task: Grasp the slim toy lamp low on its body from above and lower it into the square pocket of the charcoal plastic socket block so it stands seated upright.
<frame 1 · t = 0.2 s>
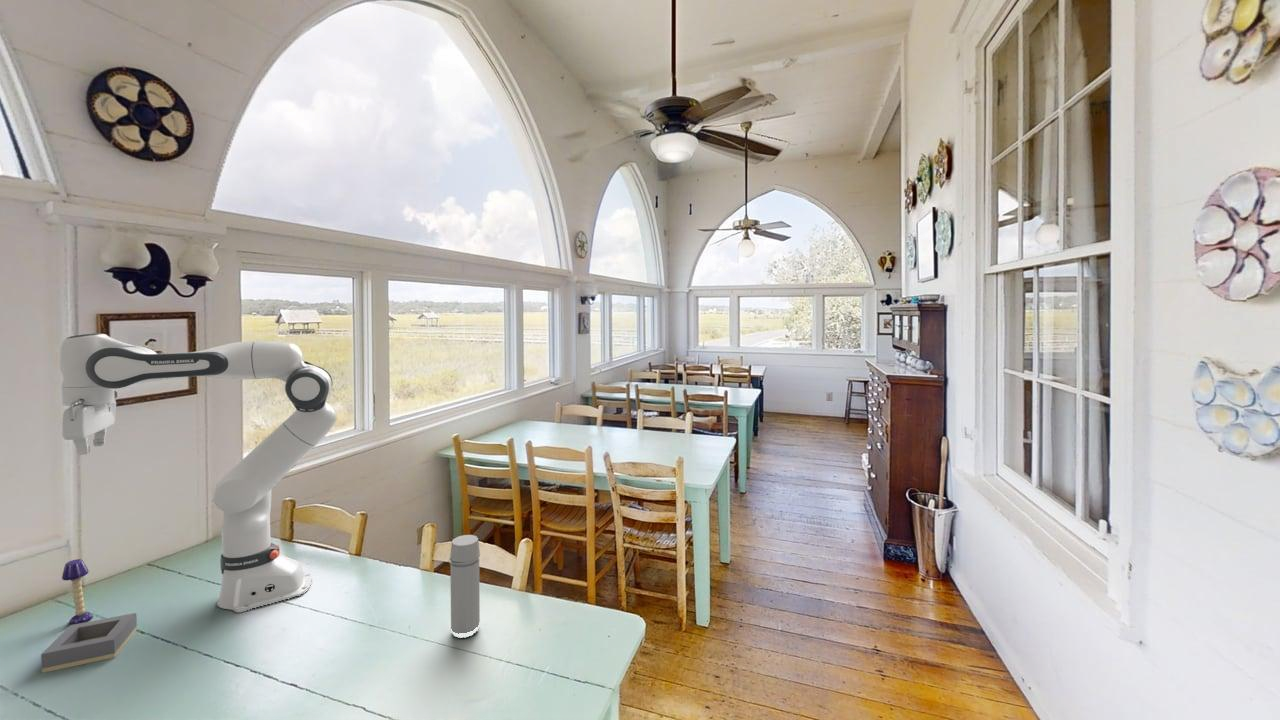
hand: (91, 449, 127), 47 cm above the table, tool pointing down, fingers open, 8 cm apart
toy lamp: (79, 622, 131), on the table
water bottle: (463, 631, 131), on the table
socket block: (93, 649, 120), on the table
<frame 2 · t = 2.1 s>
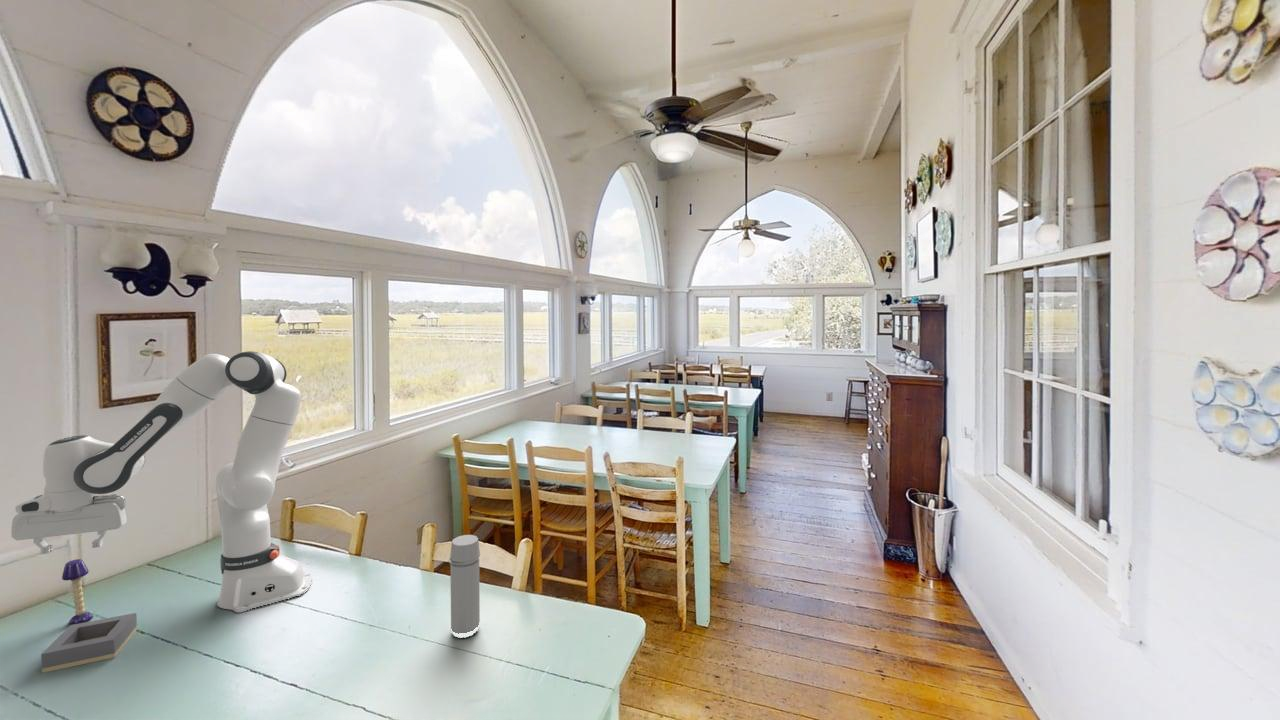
hand: (72, 549, 130), 20 cm above the table, tool pointing down, fingers open, 8 cm apart
nothing on the table moved.
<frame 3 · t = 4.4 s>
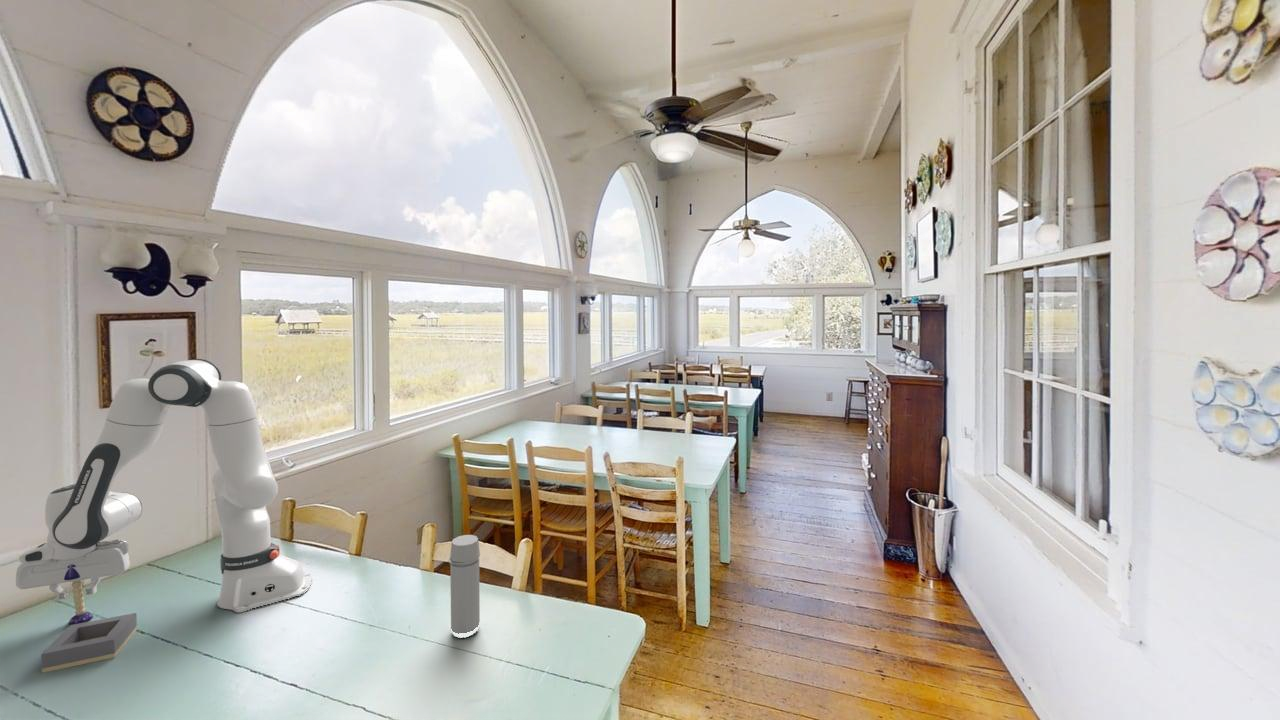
hand: (77, 595, 131), 7 cm above the table, tool pointing down, fingers closed on toy lamp, 4 cm apart
toy lamp: (79, 622, 131), on the table, touching gripper
everything else where it was.
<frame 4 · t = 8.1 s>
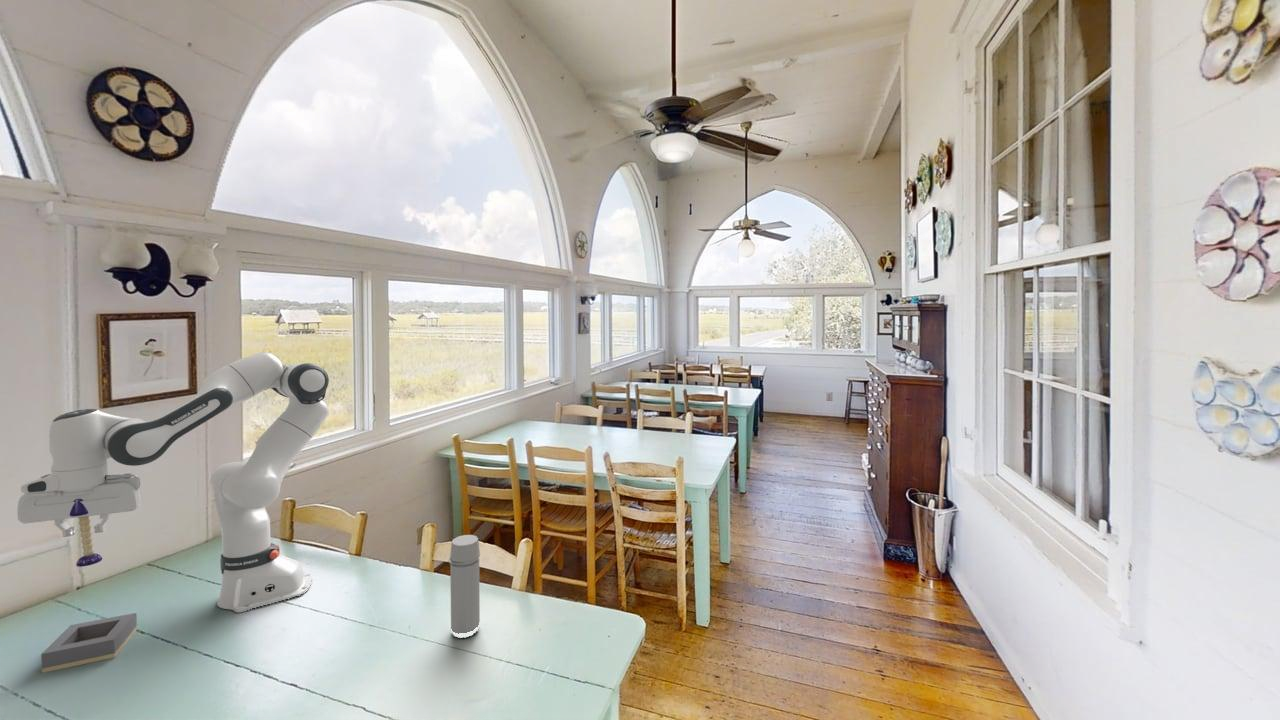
hand: (85, 533, 119), 29 cm above the table, tool pointing down, fingers closed on toy lamp, 4 cm apart
toy lamp: (87, 563, 120), point 21 cm above the table, touching gripper
everything else where it was.
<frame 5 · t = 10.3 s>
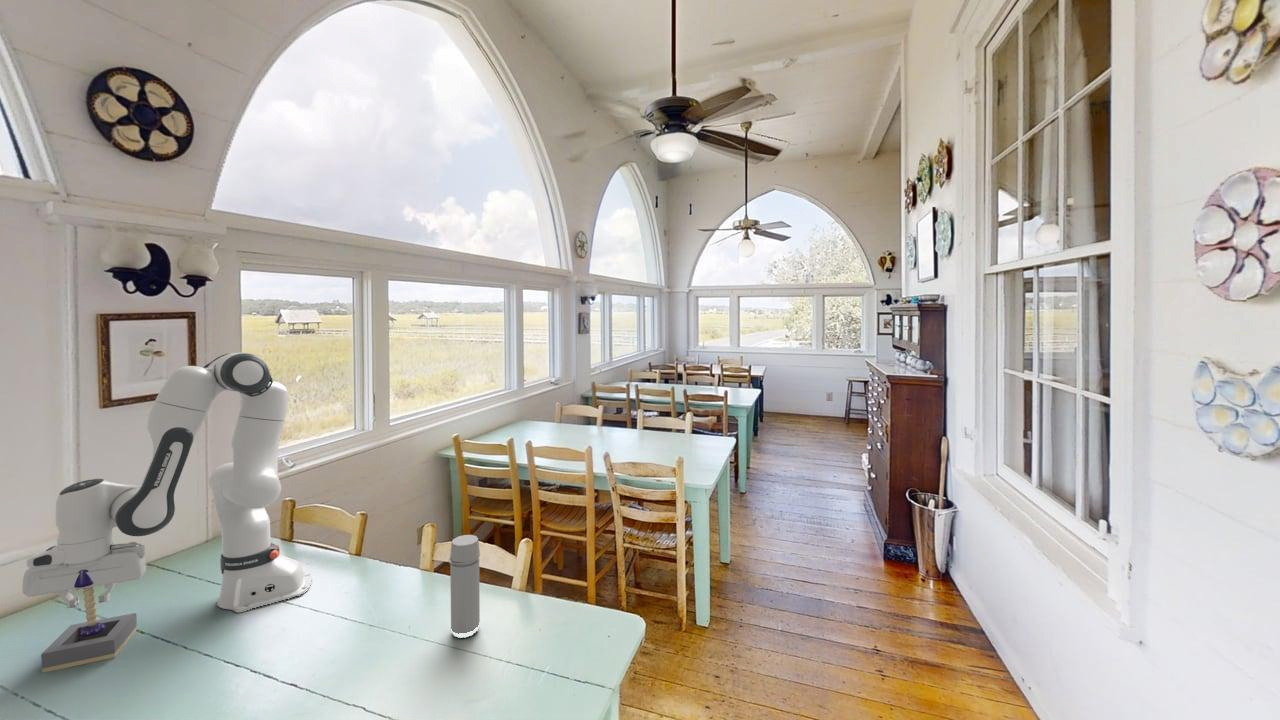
hand: (89, 603, 119), 12 cm above the table, tool pointing down, fingers closed on toy lamp, 4 cm apart
toy lamp: (90, 633, 120), point 4 cm above the table, touching gripper
everything else where it was.
when the fingers open (9 cm above the table, at t = 12.0 s): toy lamp stays where it is, resting on socket block.
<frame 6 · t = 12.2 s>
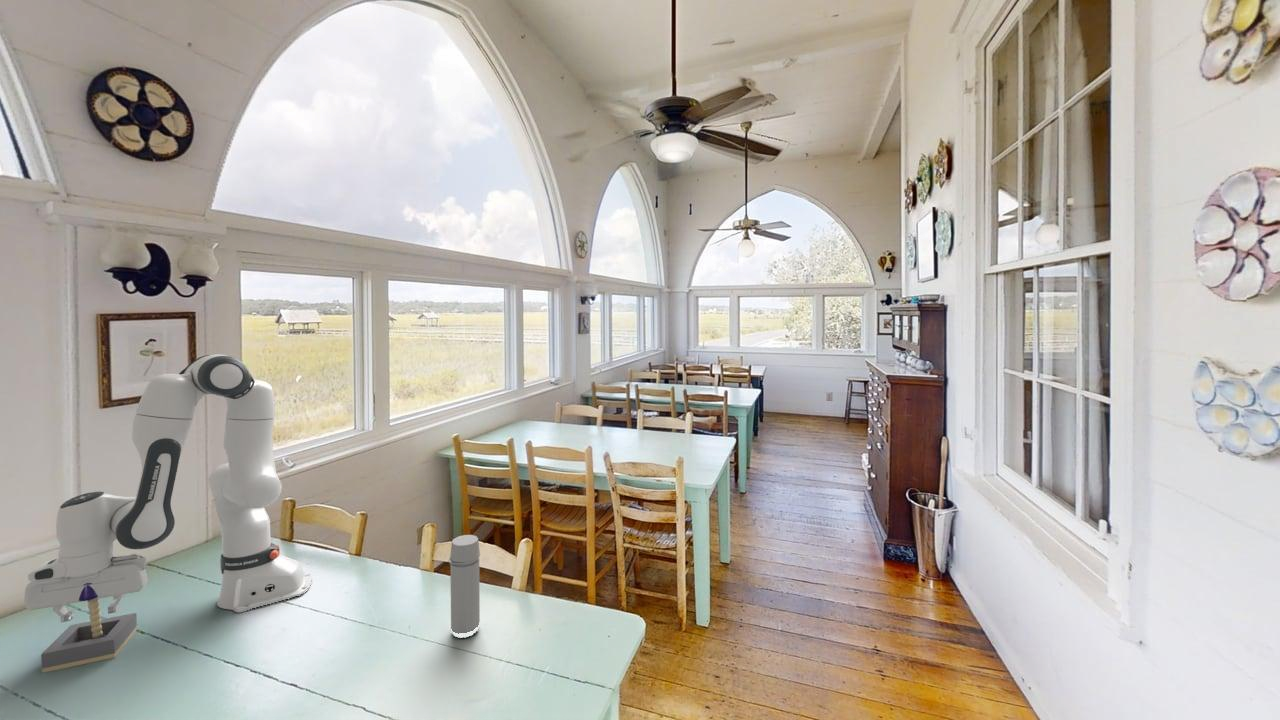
hand: (91, 616, 120), 9 cm above the table, tool pointing down, fingers open, 7 cm apart
toy lamp: (96, 645, 121), point 1 cm above the table, touching socket block
everything else where it was.
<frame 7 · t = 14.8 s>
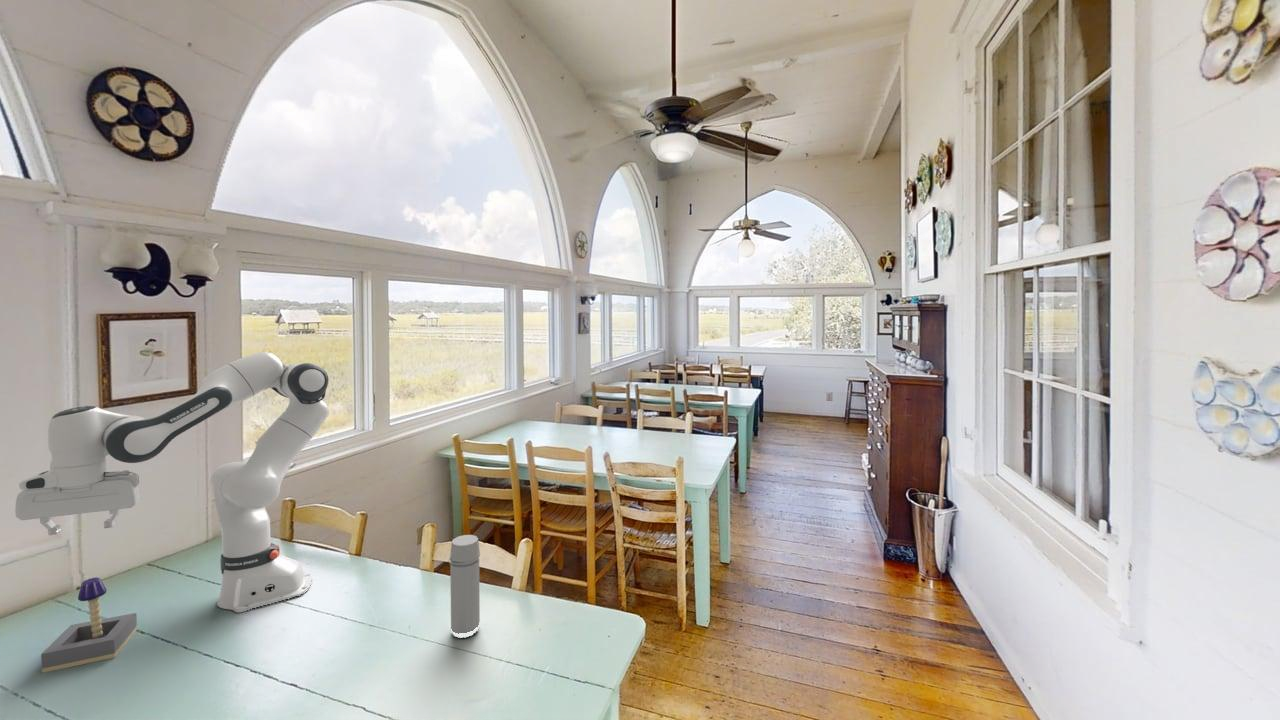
hand: (82, 530, 119), 30 cm above the table, tool pointing down, fingers open, 8 cm apart
nothing on the table moved.
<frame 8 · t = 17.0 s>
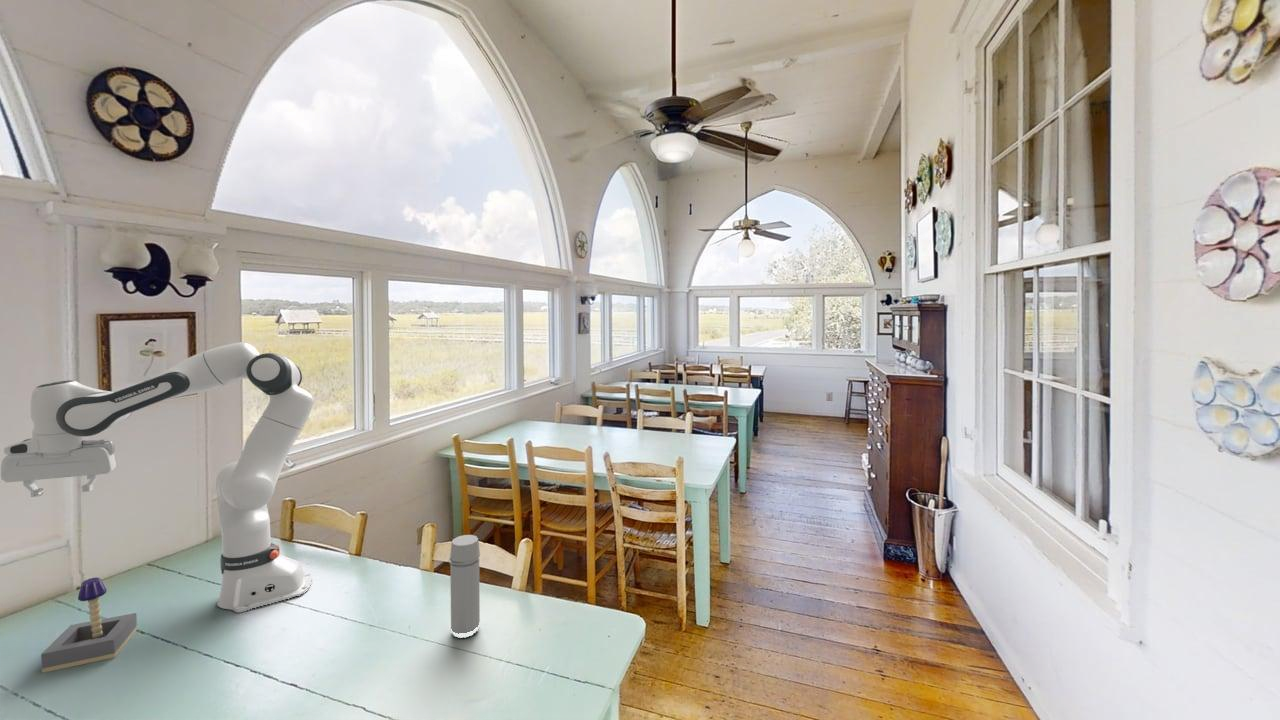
hand: (62, 493, 131), 34 cm above the table, tool pointing down, fingers open, 8 cm apart
nothing on the table moved.
at the end: toy lamp 0.7 cm off-centre on the socket block, point 0.8 cm above the socket block's base; toy lamp tilted 0°; the gripper is holding nothing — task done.
